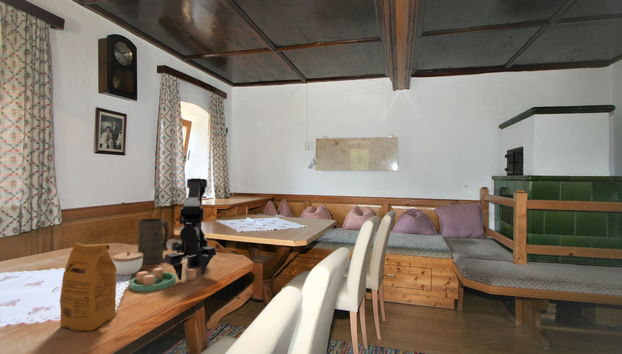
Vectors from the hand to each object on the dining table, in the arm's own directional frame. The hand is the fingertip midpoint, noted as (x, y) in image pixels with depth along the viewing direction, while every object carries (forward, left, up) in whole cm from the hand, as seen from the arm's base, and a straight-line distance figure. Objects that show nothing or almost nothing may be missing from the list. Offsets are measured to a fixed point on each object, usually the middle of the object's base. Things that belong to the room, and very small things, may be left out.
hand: (191, 276), depth 119 cm
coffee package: (+36, +10, -2) cm, 37 cm away
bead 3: (+9, -8, 0) cm, 12 cm away
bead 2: (+15, -2, 0) cm, 15 cm away
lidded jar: (+13, -26, -2) cm, 29 cm away
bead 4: (0, 0, -1) cm, 1 cm away
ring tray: (+12, -5, -1) cm, 13 cm away
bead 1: (+15, -8, 0) cm, 17 cm away
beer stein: (-3, -39, -2) cm, 39 cm away
